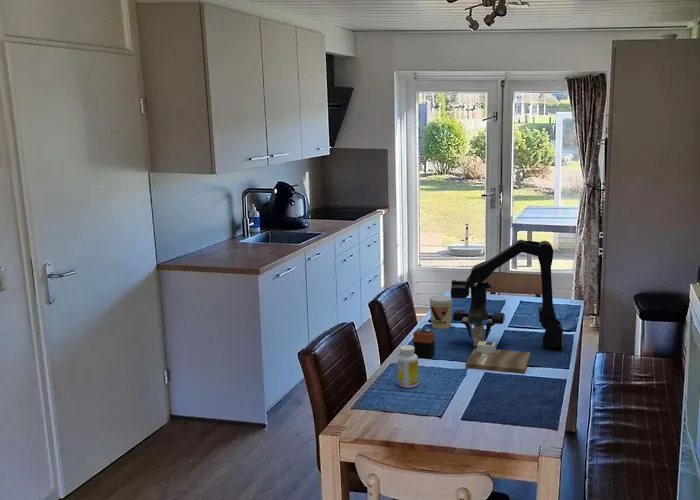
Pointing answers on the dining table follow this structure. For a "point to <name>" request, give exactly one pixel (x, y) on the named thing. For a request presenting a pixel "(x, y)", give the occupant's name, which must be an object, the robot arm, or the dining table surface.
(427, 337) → the battery
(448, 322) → the coffee cup
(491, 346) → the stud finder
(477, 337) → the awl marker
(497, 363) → the board
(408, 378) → the supplement bottle
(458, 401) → the dining table surface
